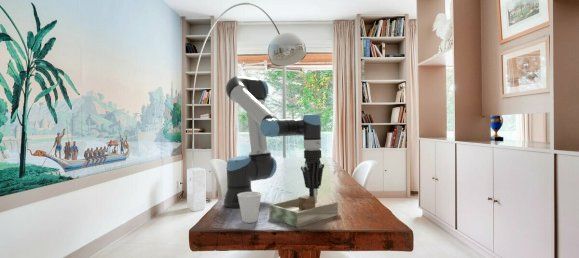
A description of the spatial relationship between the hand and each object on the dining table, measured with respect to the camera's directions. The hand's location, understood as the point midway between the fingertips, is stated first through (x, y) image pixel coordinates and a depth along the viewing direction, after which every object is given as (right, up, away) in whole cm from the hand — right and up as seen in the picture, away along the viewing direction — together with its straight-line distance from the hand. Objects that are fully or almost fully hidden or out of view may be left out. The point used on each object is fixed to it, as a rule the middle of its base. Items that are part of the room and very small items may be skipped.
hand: (313, 203), depth 139 cm
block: (-3, -2, -3) cm, 5 cm away
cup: (-27, -5, -9) cm, 29 cm away
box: (-4, -5, -4) cm, 7 cm away
